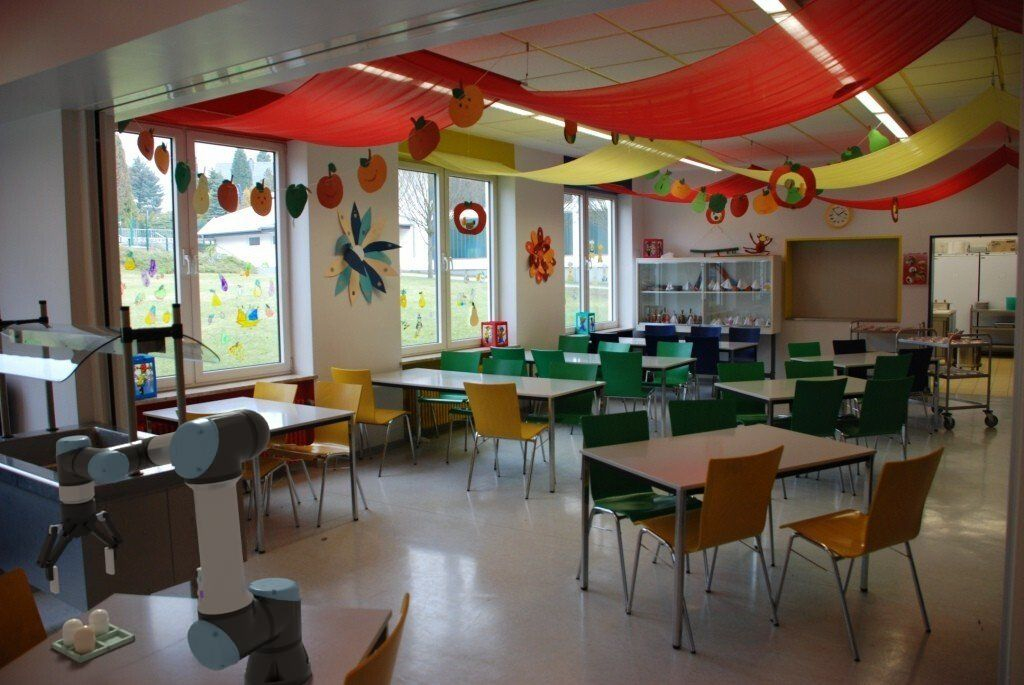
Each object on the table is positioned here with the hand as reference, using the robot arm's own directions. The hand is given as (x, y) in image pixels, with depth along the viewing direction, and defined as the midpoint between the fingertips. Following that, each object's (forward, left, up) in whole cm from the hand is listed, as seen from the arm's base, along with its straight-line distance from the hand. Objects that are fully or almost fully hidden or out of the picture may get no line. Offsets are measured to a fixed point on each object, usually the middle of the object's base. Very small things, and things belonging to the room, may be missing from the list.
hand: (83, 582), depth 193 cm
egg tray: (+3, -3, -19) cm, 19 cm away
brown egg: (0, +1, -18) cm, 18 cm away
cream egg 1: (+7, 0, -18) cm, 19 cm away
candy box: (-11, -31, -19) cm, 38 cm away
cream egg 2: (+7, -6, -18) cm, 20 cm away
